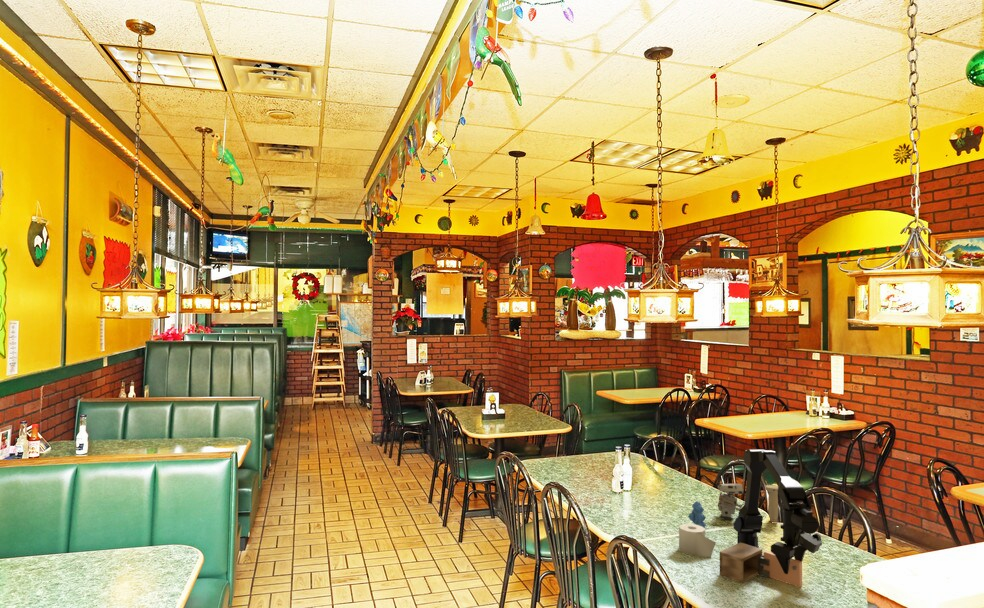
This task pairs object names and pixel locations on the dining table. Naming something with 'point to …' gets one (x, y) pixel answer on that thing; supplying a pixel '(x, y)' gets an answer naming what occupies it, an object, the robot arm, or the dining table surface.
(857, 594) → the dining table surface
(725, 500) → the figurine
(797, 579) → the cabinet door
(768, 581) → the dining table surface
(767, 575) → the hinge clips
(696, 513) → the grapes
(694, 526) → the toilet tissue
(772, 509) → the handle
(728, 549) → the cabinet
